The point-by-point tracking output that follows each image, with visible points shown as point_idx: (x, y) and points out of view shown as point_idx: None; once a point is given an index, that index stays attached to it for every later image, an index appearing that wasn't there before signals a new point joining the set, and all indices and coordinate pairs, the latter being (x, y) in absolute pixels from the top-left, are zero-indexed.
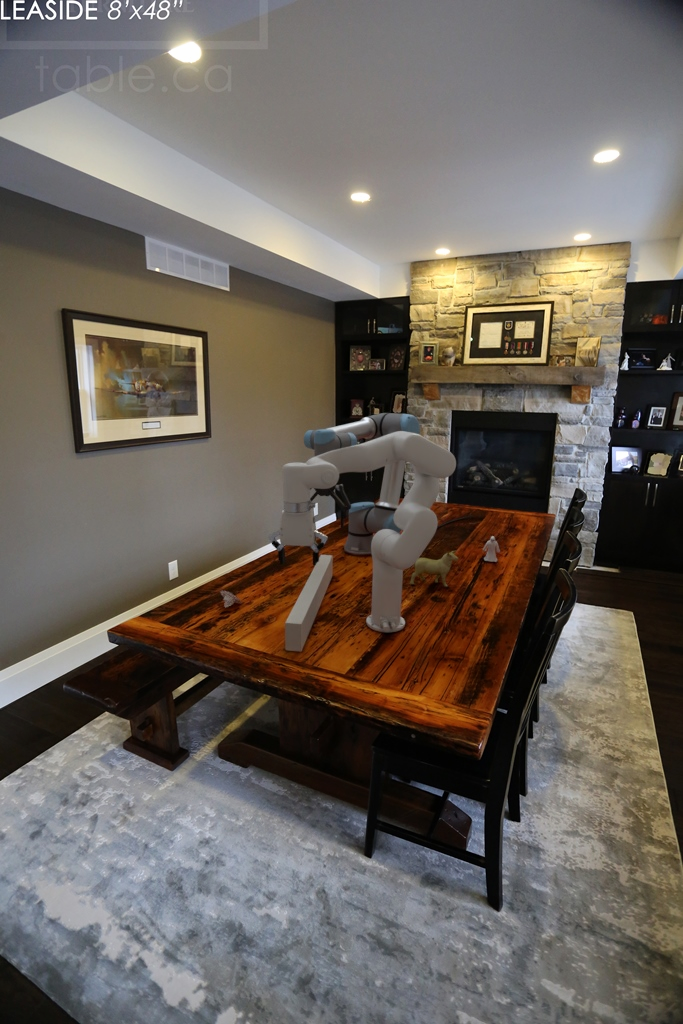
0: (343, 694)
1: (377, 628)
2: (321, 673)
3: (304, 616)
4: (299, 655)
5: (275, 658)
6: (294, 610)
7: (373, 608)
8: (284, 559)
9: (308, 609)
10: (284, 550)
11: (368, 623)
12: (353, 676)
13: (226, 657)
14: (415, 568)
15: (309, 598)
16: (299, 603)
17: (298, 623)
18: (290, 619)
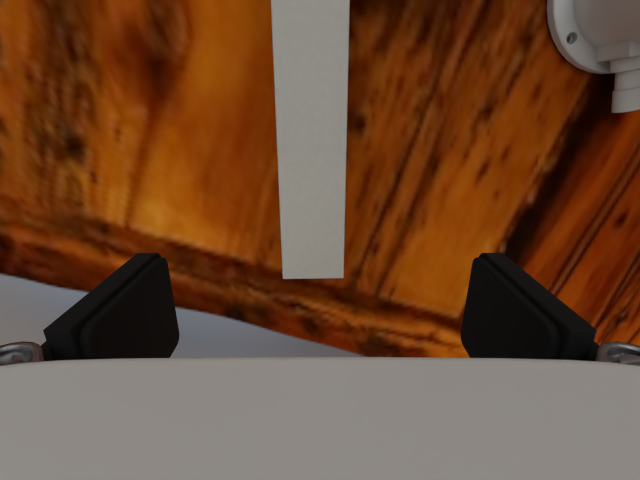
0: None
1: (586, 66)
2: (402, 324)
3: (343, 219)
4: None
5: (274, 282)
6: (290, 172)
7: (629, 6)
8: (161, 291)
9: (346, 141)
10: (103, 333)
11: (558, 29)
12: None
13: None
14: None
15: (331, 18)
16: (295, 94)
17: (332, 276)
18: (295, 251)
